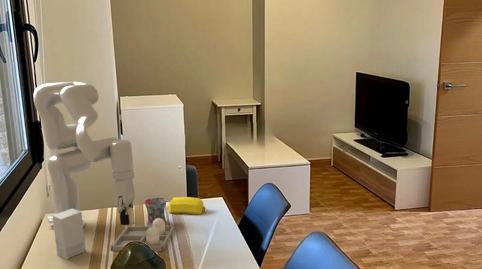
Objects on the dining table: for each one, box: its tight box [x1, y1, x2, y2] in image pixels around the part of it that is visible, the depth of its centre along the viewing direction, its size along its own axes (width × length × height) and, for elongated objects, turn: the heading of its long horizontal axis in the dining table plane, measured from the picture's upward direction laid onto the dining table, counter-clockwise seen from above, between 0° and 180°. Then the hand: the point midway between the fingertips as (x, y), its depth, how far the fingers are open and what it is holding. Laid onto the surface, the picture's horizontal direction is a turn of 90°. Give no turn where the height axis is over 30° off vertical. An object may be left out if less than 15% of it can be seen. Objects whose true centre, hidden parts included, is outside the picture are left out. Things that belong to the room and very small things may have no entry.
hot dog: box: [166, 196, 207, 215], centre depth 206 cm, size 18×7×8 cm
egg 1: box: [120, 206, 135, 227], centre depth 171 cm, size 5×5×7 cm
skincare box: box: [51, 209, 87, 260], centre depth 167 cm, size 8×7×16 cm
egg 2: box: [152, 218, 166, 235], centre depth 181 cm, size 5×5×7 cm
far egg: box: [146, 227, 160, 246], centre depth 172 cm, size 5×5×7 cm
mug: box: [143, 197, 168, 226], centre depth 193 cm, size 12×9×11 cm
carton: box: [110, 225, 176, 252], centre depth 177 cm, size 19×19×2 cm
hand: (127, 221), depth 171 cm, fingers closed on egg 1, 4 cm apart
